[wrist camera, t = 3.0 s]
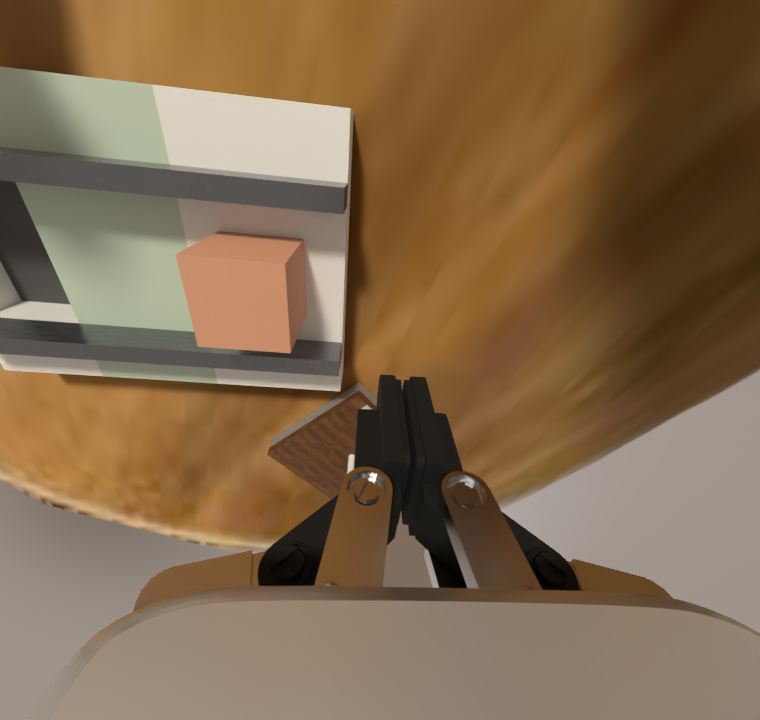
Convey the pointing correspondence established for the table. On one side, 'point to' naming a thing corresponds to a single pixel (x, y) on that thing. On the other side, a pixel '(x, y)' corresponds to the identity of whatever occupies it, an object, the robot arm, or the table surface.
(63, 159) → the channel walls
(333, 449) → the display case
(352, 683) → the robot arm
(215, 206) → the channel deck
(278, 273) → the terracotta block
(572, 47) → the table surface
